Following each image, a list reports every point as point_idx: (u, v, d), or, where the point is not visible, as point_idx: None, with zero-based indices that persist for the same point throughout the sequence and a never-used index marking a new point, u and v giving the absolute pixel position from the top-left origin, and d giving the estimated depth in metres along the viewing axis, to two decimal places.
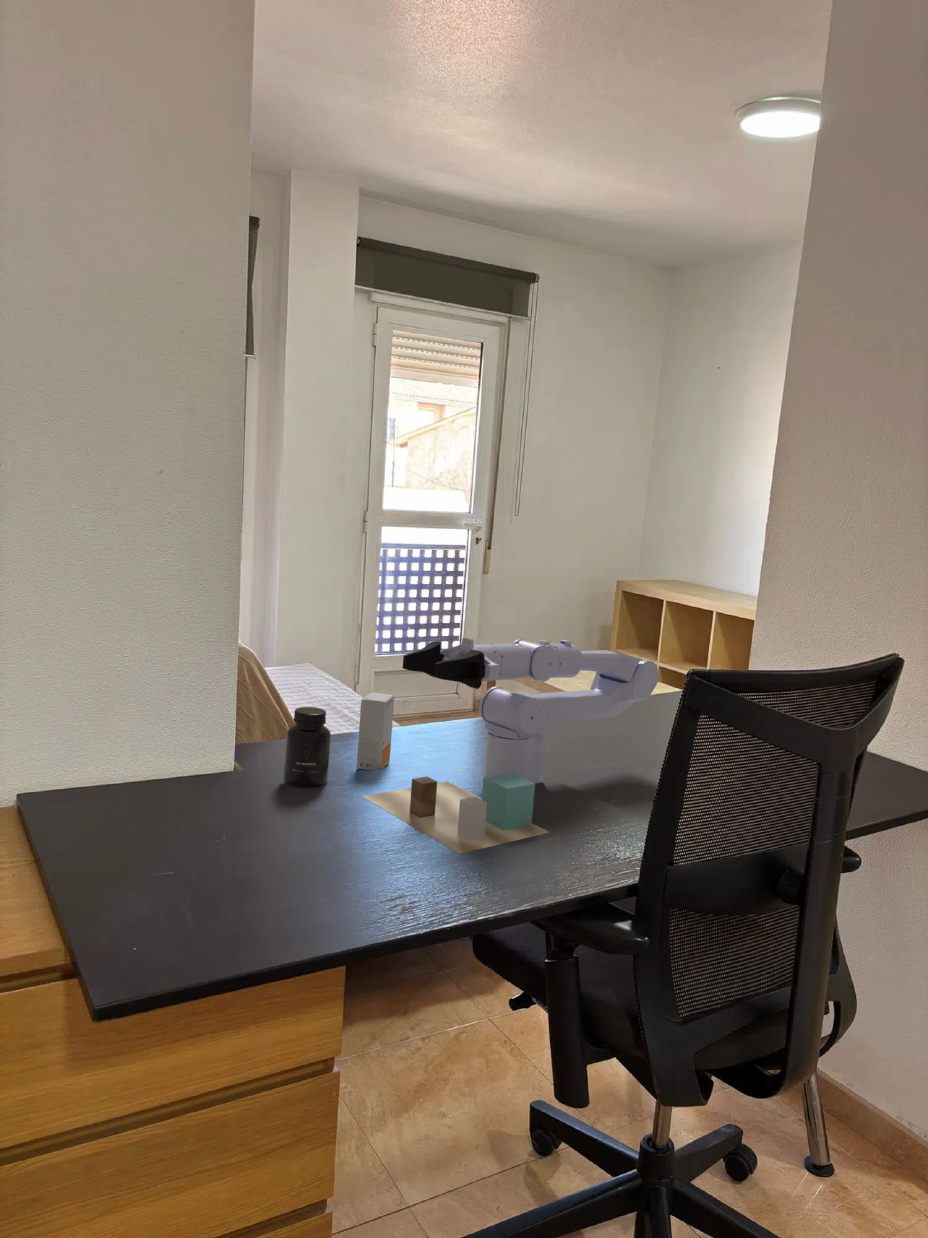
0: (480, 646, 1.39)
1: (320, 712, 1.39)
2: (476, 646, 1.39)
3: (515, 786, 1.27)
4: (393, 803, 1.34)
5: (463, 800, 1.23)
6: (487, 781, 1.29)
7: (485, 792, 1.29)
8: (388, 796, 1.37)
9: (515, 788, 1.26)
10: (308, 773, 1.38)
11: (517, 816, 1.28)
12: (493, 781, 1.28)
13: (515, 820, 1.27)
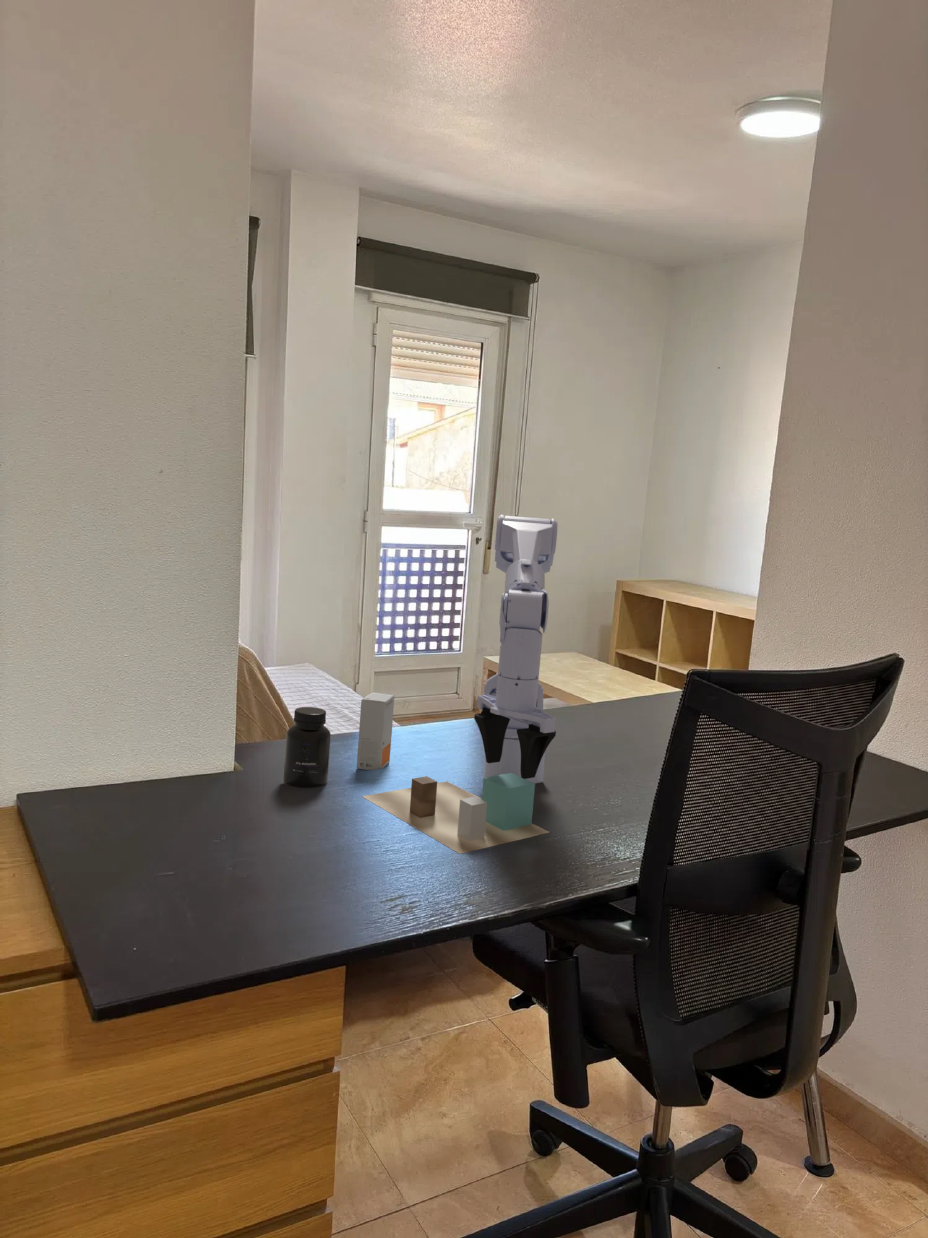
0: (505, 697, 1.25)
1: (320, 712, 1.39)
2: (504, 702, 1.25)
3: (515, 786, 1.27)
4: (393, 803, 1.34)
5: (463, 800, 1.23)
6: (487, 781, 1.29)
7: (485, 792, 1.29)
8: (388, 796, 1.37)
9: (515, 788, 1.26)
10: (308, 773, 1.38)
11: (517, 816, 1.28)
12: (493, 781, 1.28)
13: (515, 820, 1.27)
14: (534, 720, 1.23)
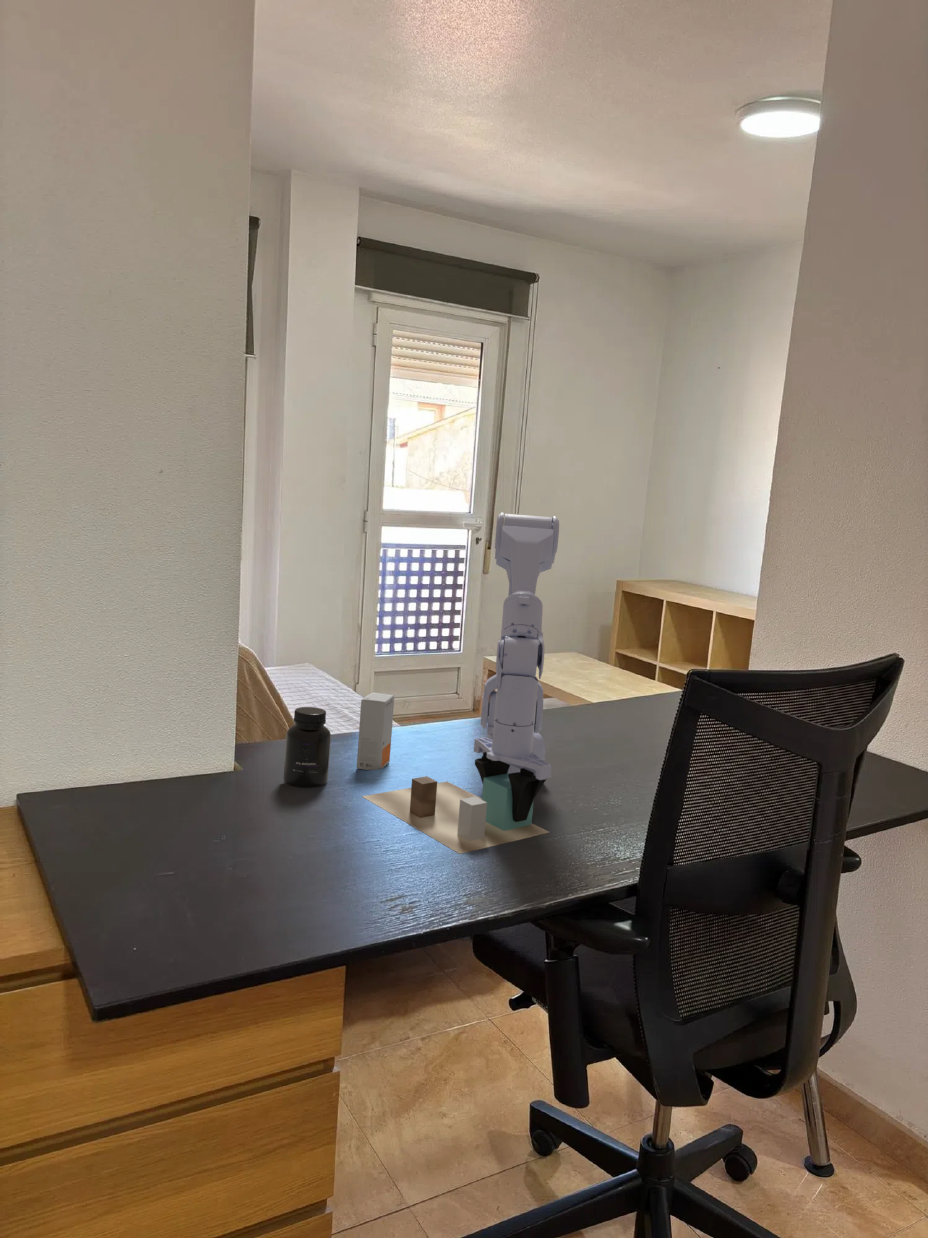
0: (501, 743, 1.26)
1: (320, 712, 1.39)
2: (500, 748, 1.26)
3: None
4: (393, 803, 1.34)
5: (463, 800, 1.23)
6: (487, 781, 1.29)
7: (485, 792, 1.29)
8: (388, 796, 1.37)
9: None
10: (308, 773, 1.38)
11: None
12: (493, 781, 1.28)
13: None
14: (530, 767, 1.24)
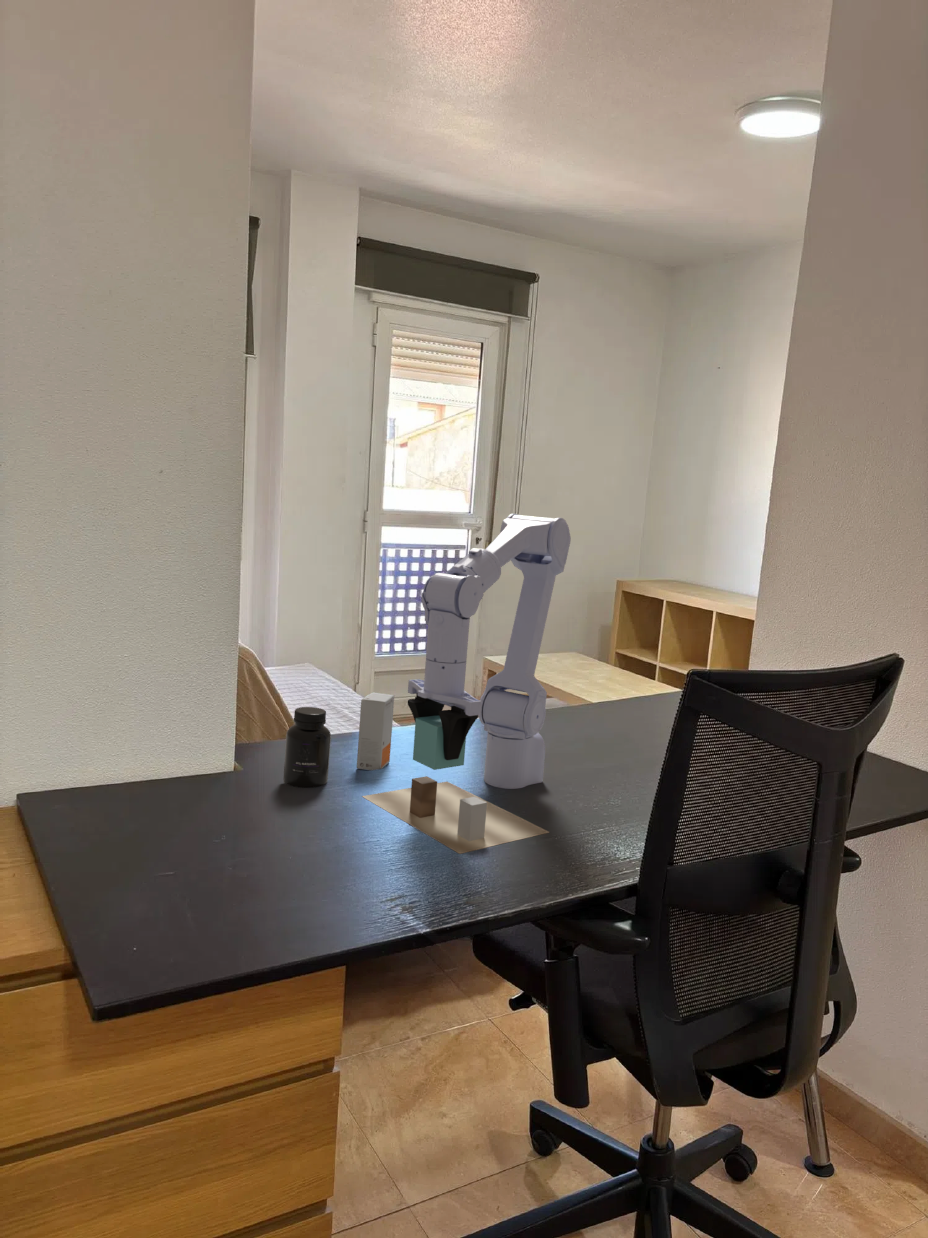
0: (432, 680, 1.25)
1: (320, 712, 1.39)
2: (431, 686, 1.26)
3: None
4: (393, 803, 1.34)
5: (463, 800, 1.23)
6: (419, 721, 1.28)
7: (417, 732, 1.29)
8: (388, 796, 1.37)
9: None
10: (308, 773, 1.38)
11: None
12: (425, 721, 1.28)
13: (446, 760, 1.27)
14: (460, 703, 1.23)
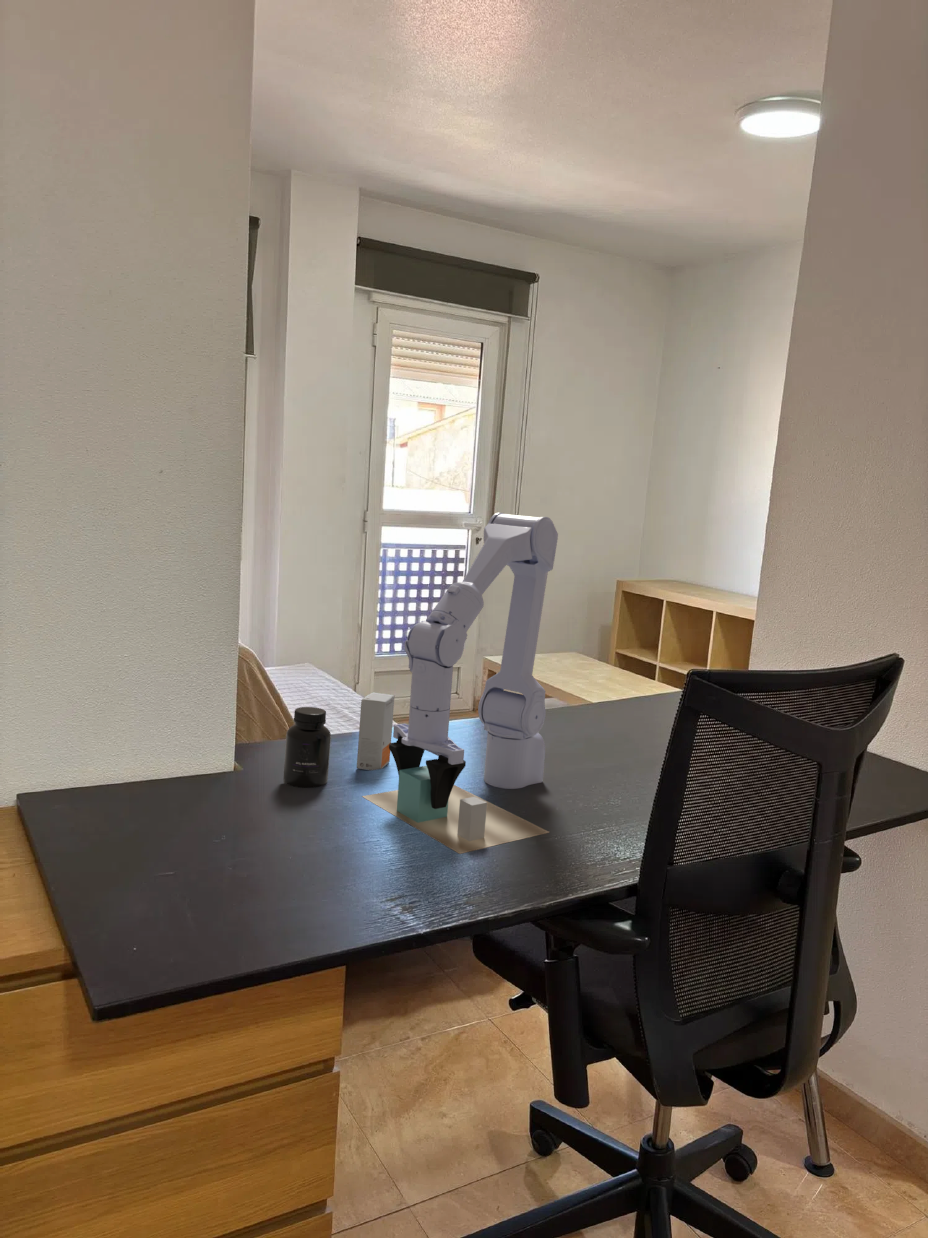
0: (415, 728, 1.27)
1: (320, 712, 1.39)
2: (415, 733, 1.27)
3: (429, 778, 1.27)
4: (393, 803, 1.34)
5: (463, 800, 1.23)
6: (402, 773, 1.29)
7: (401, 784, 1.30)
8: (388, 796, 1.37)
9: (429, 780, 1.27)
10: (308, 773, 1.38)
11: (432, 808, 1.28)
12: (408, 773, 1.29)
13: (429, 812, 1.28)
14: (442, 751, 1.24)
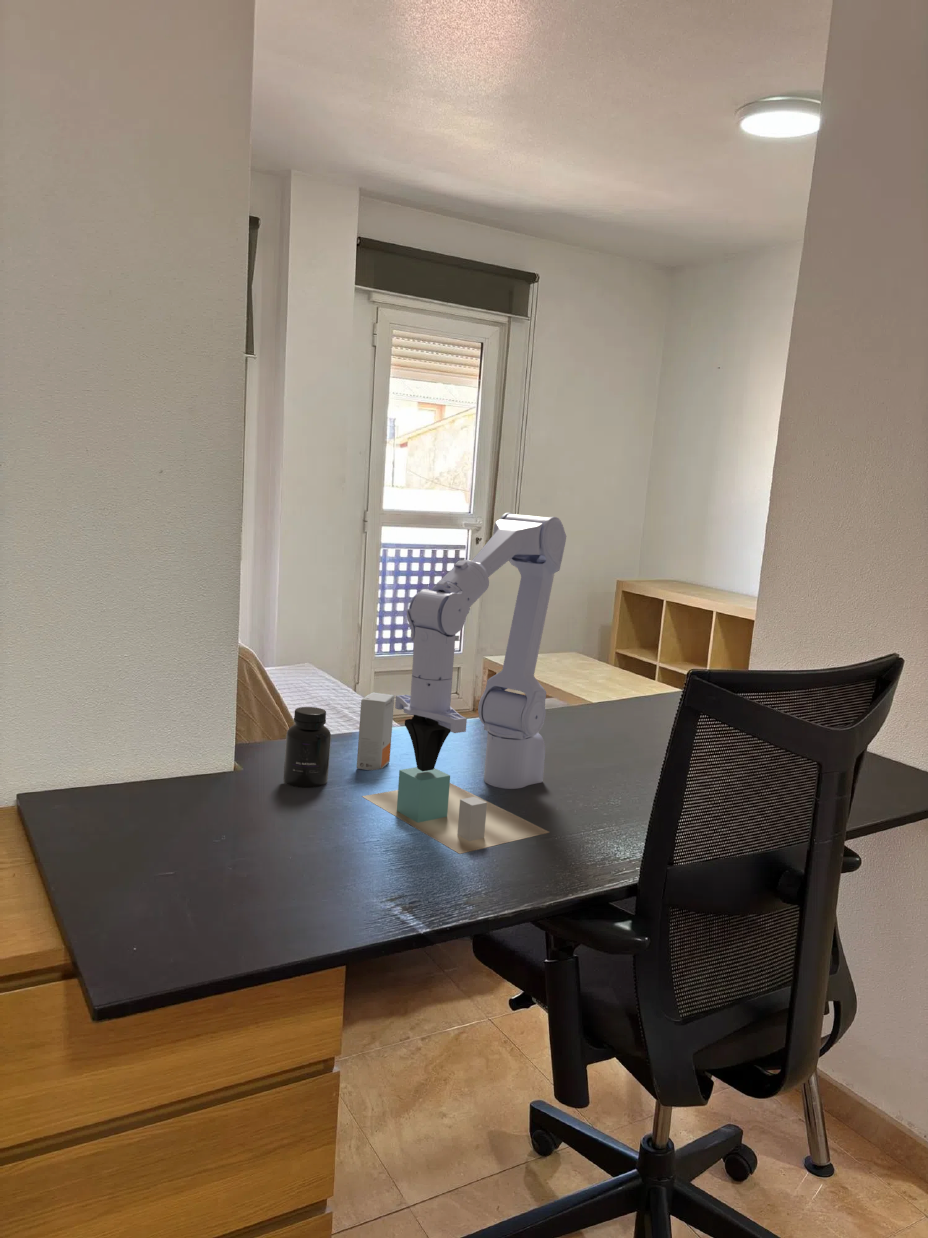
0: (418, 697, 1.26)
1: (320, 712, 1.39)
2: (417, 703, 1.26)
3: (429, 778, 1.27)
4: (393, 803, 1.34)
5: (463, 800, 1.23)
6: (402, 773, 1.29)
7: (401, 784, 1.30)
8: (388, 796, 1.37)
9: (429, 780, 1.27)
10: (308, 773, 1.38)
11: (432, 808, 1.28)
12: (408, 773, 1.29)
13: (429, 812, 1.28)
14: (445, 720, 1.24)
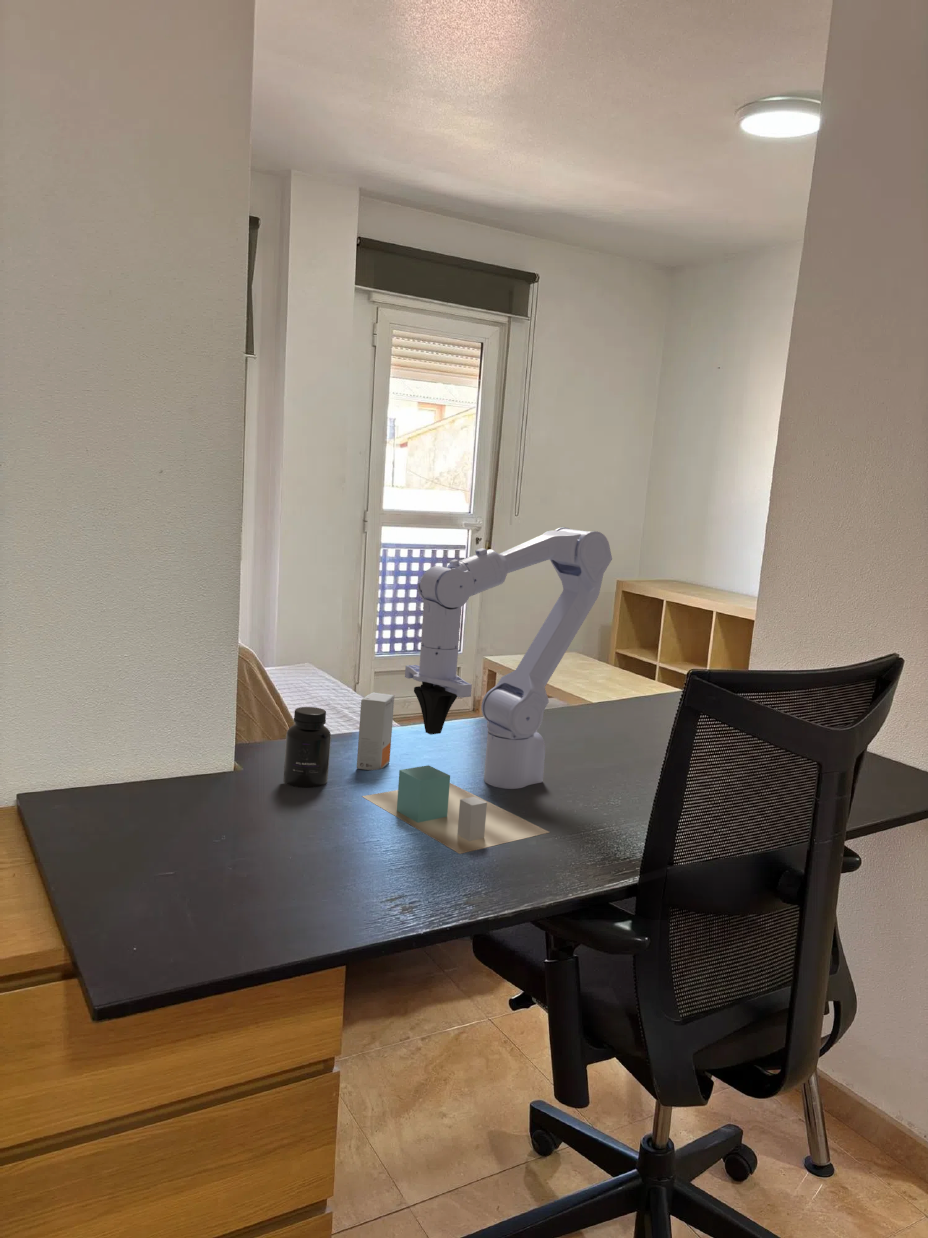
0: (426, 665, 1.36)
1: (320, 712, 1.39)
2: (426, 670, 1.36)
3: (429, 778, 1.27)
4: (393, 803, 1.34)
5: (463, 800, 1.23)
6: (402, 773, 1.29)
7: (401, 784, 1.30)
8: (388, 796, 1.37)
9: (429, 780, 1.27)
10: (308, 773, 1.38)
11: (432, 808, 1.28)
12: (408, 773, 1.29)
13: (429, 812, 1.28)
14: (451, 686, 1.34)
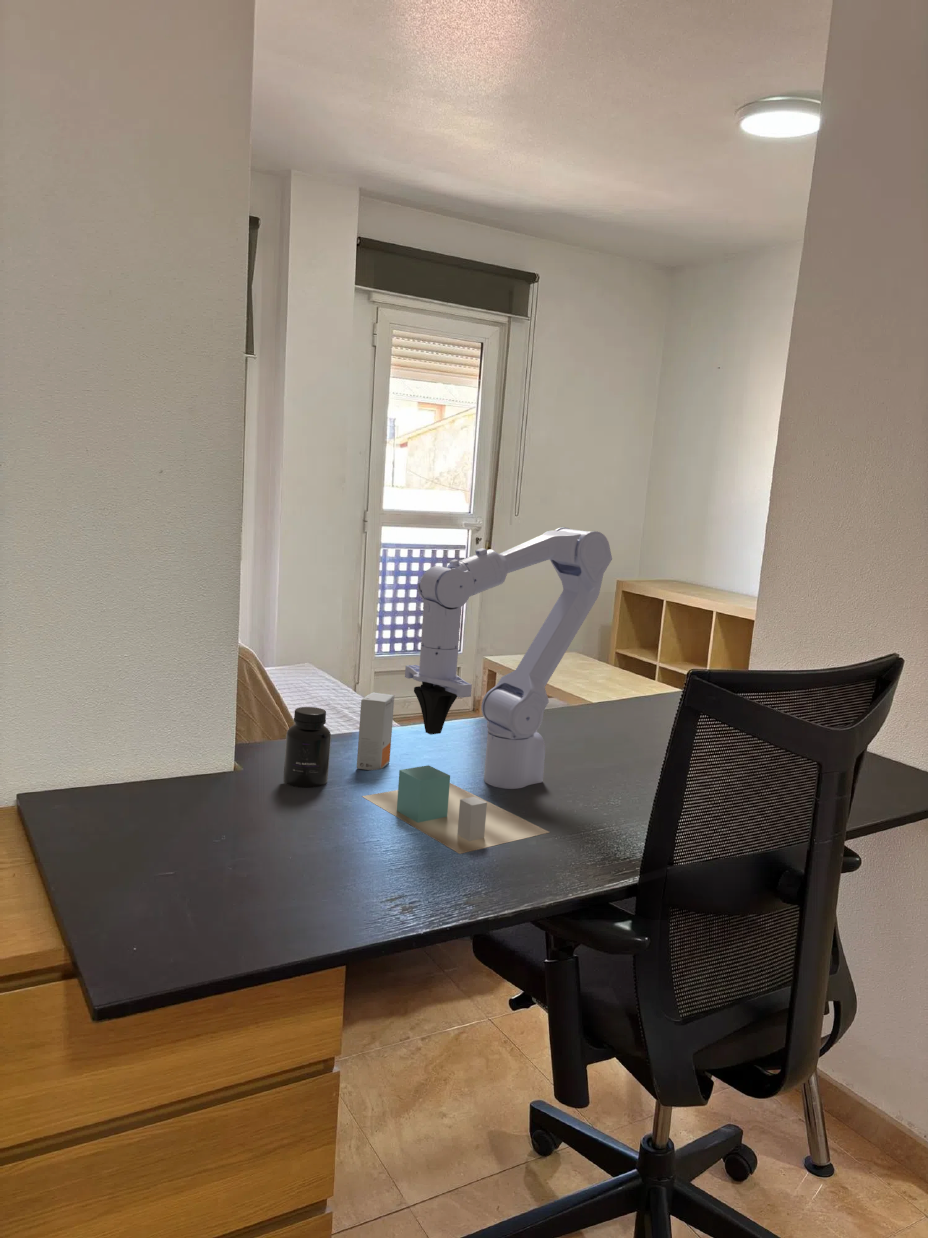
0: (426, 665, 1.36)
1: (320, 712, 1.39)
2: (426, 670, 1.36)
3: (429, 778, 1.27)
4: (393, 803, 1.34)
5: (463, 800, 1.23)
6: (402, 773, 1.29)
7: (401, 784, 1.30)
8: (388, 796, 1.37)
9: (429, 780, 1.27)
10: (308, 773, 1.38)
11: (432, 808, 1.28)
12: (408, 773, 1.29)
13: (429, 812, 1.28)
14: (451, 686, 1.34)
